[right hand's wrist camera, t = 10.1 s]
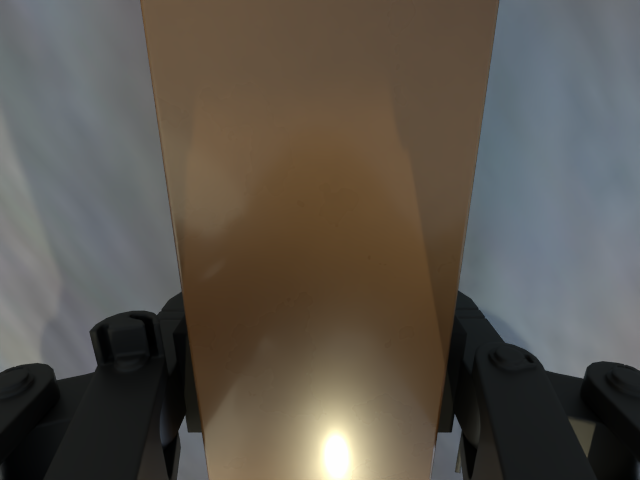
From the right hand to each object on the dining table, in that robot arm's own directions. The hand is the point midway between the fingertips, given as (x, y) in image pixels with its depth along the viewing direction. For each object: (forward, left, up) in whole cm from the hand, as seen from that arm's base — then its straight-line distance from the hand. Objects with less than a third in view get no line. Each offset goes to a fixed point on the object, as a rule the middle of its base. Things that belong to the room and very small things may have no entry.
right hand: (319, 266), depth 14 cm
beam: (+23, +26, -1) cm, 35 cm away
